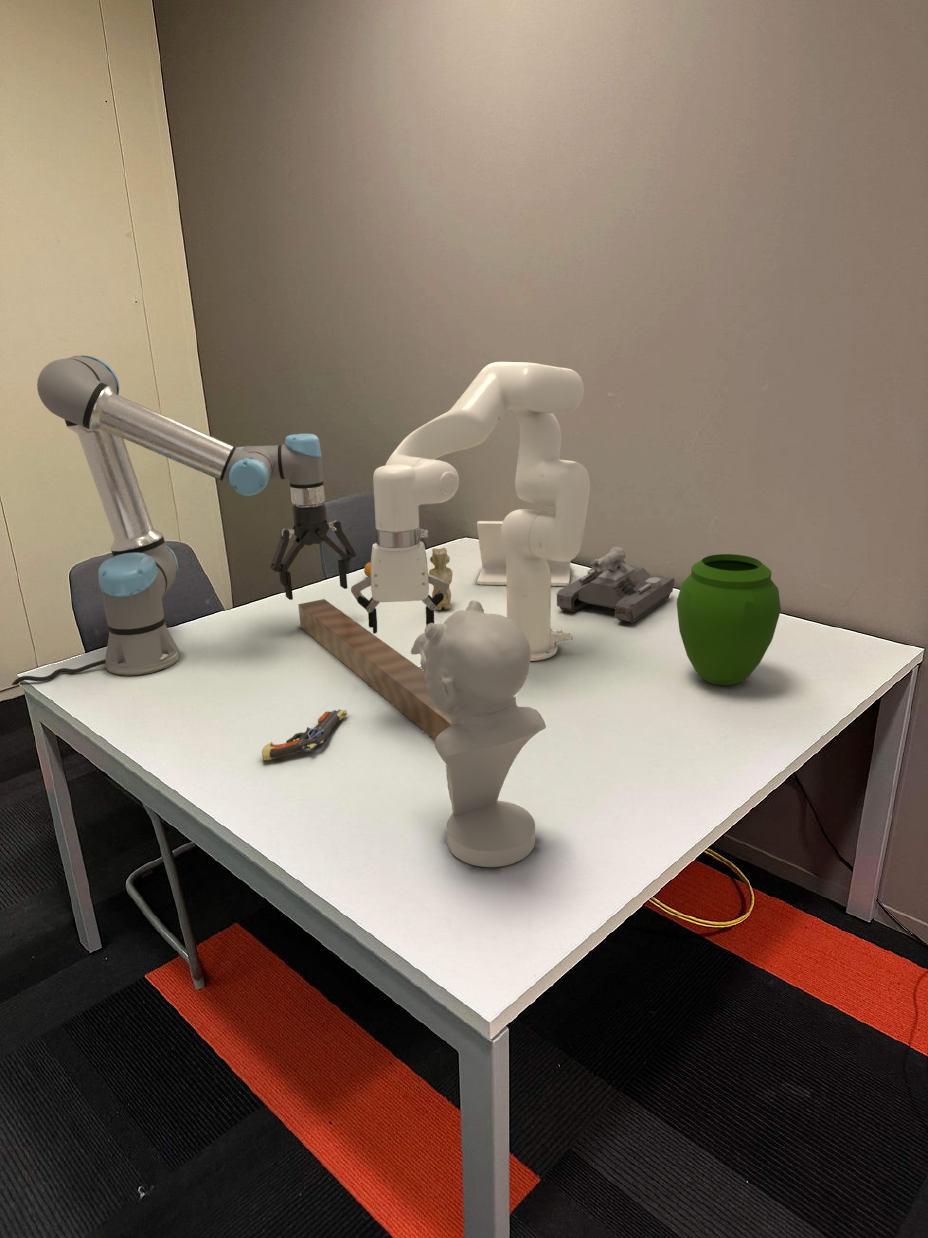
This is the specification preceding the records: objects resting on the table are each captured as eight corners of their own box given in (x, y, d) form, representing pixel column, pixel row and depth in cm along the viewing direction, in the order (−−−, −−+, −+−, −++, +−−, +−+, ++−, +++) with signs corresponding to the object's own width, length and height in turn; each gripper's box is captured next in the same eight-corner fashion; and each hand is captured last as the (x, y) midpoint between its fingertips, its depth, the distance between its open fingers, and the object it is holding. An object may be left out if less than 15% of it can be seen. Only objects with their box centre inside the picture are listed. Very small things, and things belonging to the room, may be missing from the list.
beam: (486, 746, 149) (485, 715, 147) (453, 756, 146) (452, 725, 144) (326, 621, 209) (324, 598, 207) (300, 627, 206) (298, 604, 204)
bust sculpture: (481, 772, 140) (476, 569, 128) (565, 848, 120) (569, 617, 108) (392, 800, 134) (378, 588, 121) (465, 886, 114) (457, 642, 101)
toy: (603, 584, 229) (605, 530, 224) (673, 597, 218) (677, 540, 213) (555, 612, 210) (556, 553, 205) (630, 627, 199) (633, 566, 194)
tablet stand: (569, 585, 229) (570, 524, 223) (476, 584, 232) (475, 523, 226) (570, 566, 246) (571, 508, 240) (484, 564, 249) (483, 507, 243)
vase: (783, 670, 175) (796, 555, 166) (758, 707, 159) (770, 583, 151) (690, 652, 185) (697, 543, 176) (657, 685, 169) (664, 568, 161)
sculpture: (453, 601, 220) (451, 545, 214) (454, 611, 213) (452, 553, 208) (430, 602, 219) (428, 546, 214) (430, 612, 213) (428, 554, 207)
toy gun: (256, 750, 145) (311, 748, 142) (297, 707, 162) (347, 704, 160) (259, 765, 145) (314, 762, 143) (300, 720, 163) (349, 718, 161)
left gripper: (352, 493, 202) (359, 579, 210) (249, 508, 190) (260, 598, 198) (365, 499, 196) (372, 586, 203) (260, 515, 184) (271, 607, 192)
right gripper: (446, 530, 152) (448, 620, 158) (348, 533, 151) (354, 624, 157) (449, 541, 145) (451, 635, 151) (346, 544, 144) (352, 639, 150)
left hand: (317, 592), depth 201 cm, fingers open, 13 cm apart
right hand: (401, 629), depth 154 cm, fingers open, 9 cm apart
